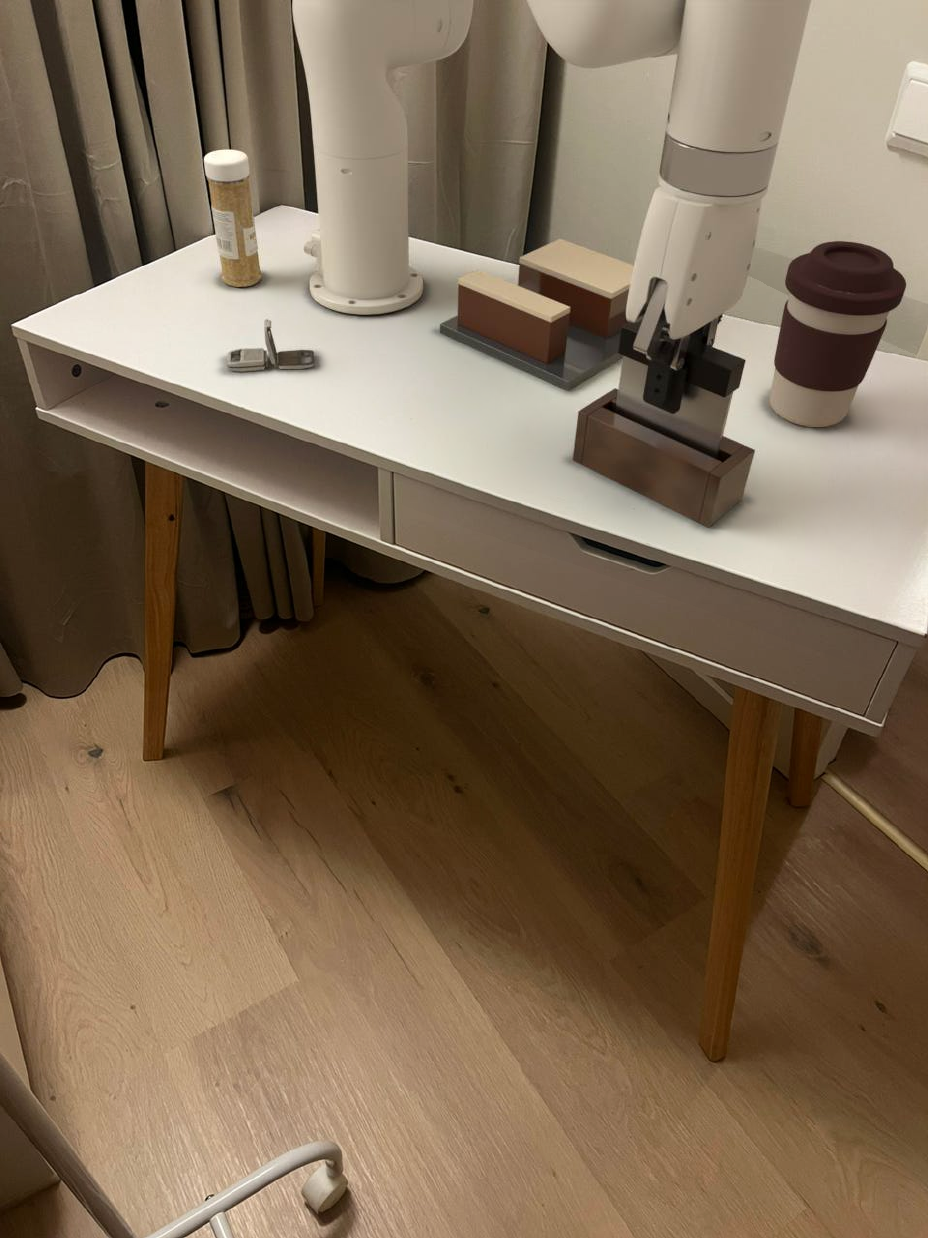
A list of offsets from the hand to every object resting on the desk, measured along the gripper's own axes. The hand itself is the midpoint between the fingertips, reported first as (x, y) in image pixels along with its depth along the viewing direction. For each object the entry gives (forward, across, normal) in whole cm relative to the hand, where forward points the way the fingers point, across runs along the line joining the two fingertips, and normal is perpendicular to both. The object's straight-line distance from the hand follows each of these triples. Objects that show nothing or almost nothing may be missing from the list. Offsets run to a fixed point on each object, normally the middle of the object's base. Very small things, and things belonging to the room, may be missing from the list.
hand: (671, 398), depth 80 cm
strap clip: (+8, +10, -39) cm, 41 cm away
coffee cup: (+8, -20, +4) cm, 22 cm away
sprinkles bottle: (+8, 0, -56) cm, 57 cm away
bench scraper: (+6, 0, 0) cm, 6 cm away
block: (+8, 0, 0) cm, 8 cm away
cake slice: (+7, -9, -24) cm, 27 cm away
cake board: (+8, -15, -23) cm, 29 cm away
